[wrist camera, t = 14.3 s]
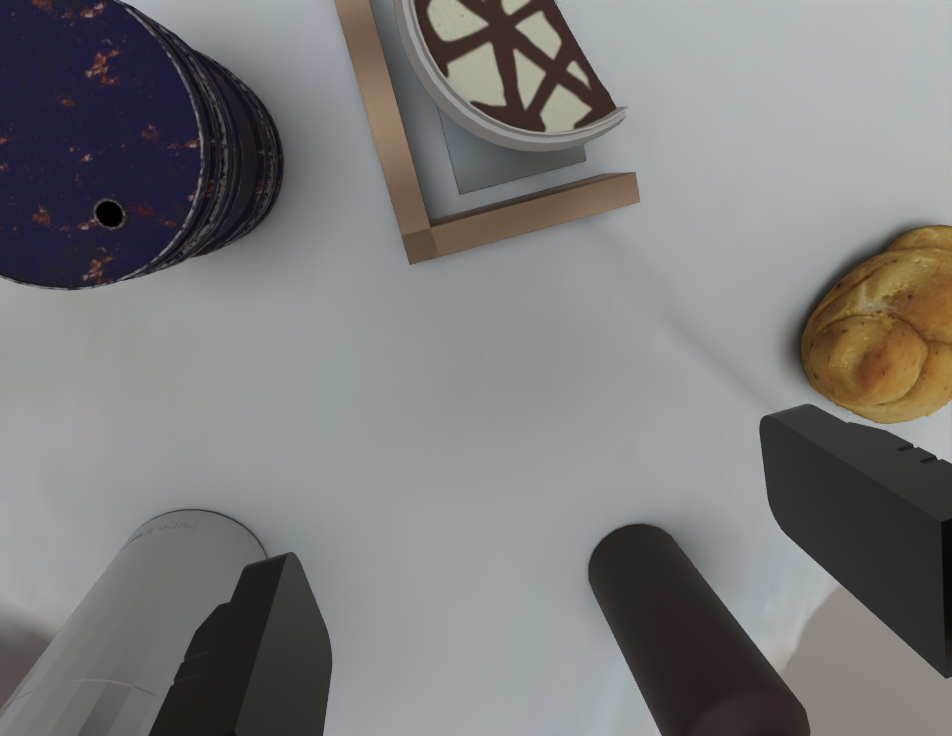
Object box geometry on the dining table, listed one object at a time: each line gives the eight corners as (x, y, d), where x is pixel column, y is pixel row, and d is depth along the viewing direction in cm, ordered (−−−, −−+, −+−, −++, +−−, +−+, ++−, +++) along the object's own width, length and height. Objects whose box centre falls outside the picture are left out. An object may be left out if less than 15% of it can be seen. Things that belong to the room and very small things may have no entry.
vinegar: (570, 553, 44) (704, 839, 25) (656, 505, 43) (859, 757, 24) (611, 622, 46) (763, 936, 27) (693, 577, 45) (907, 861, 26)
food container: (344, 5, 33) (322, -69, 23) (439, -72, 32) (457, -181, 23) (485, 203, 36) (516, 211, 27) (572, 136, 36) (636, 119, 26)
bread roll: (900, 190, 39) (1021, 191, 32) (983, 289, 42) (1114, 313, 34) (753, 345, 41) (834, 382, 33) (842, 432, 44) (936, 484, 36)
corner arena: (609, 199, 37) (640, 201, 32) (408, 254, 37) (409, 264, 32) (535, -206, 31) (559, -276, 26) (293, -147, 31) (274, -209, 26)
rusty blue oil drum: (50, 129, 33) (-217, 88, 19) (199, 14, 32) (40, -121, 18) (184, 284, 36) (42, 351, 21) (323, 181, 35) (272, 180, 21)
